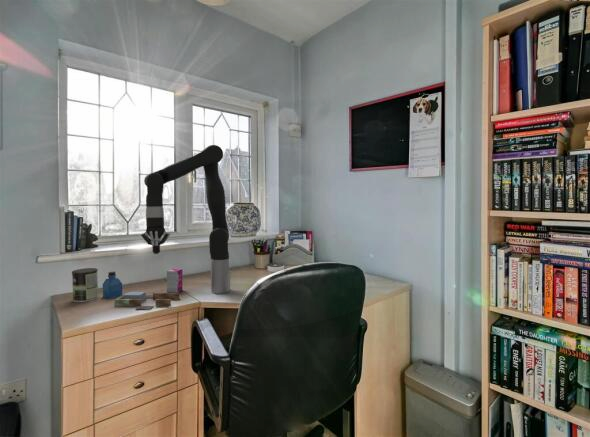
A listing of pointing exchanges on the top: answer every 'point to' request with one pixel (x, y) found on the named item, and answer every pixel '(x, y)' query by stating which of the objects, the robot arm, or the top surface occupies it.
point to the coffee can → (85, 284)
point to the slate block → (135, 295)
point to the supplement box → (174, 280)
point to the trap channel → (160, 301)
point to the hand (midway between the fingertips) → (156, 253)
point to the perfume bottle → (112, 286)
